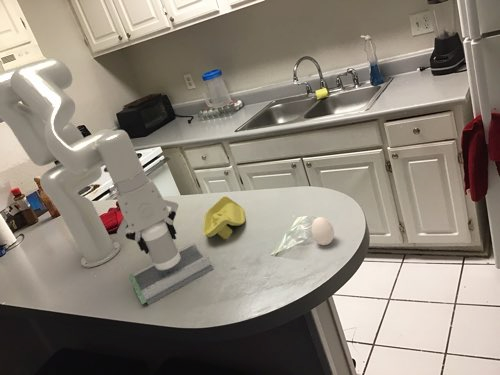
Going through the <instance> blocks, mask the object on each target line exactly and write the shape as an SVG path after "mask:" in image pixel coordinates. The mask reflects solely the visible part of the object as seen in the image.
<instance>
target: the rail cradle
mask: <svg viewBox="0 0 500 375" xmlns="http://www.w3.org/2000/svg"><path fill="white" fill-rule="evenodd" d="M178 251H179V254H180V257H181V259H180V261H179V262H178V263H177V264H176V265H175V266H173V267H171V268H169V269H166V270H158V269H157V268H156V267H155V265H154V263H152V264H150V265H148V266H147V267H144V268H142V269H141V270H139V271H136V272H135V273H131V274H129V275H128V278H129V280H130V282H131V285H132V287H133V289H134V291H135V293H136V294H137V298H138V299H139V301H140V303H141V305H144V304H146V303H147V305H148V306H150V305H152V304H154V303H155V302H157V301H158V300H159V301H160V299H162V298H164V297H166V296H168V295H169V294H171V293H173V292H175V291H177V290H178V289H180V288H181V287H184V286H185V285H187V284H189V283H191V282H192V281H194V280H197V279H199V278H200V277H201V276H203V275H206V274H207V273H210V271H213V270H214V268H213V267H214V266H213V265H212V263H211V261H210V259H209V256H208V255H205V256H203V254H202V253H201V252H200V251H199V248H198V246H197V244H196V243H195V242H192V243H191V244H188V245H187V246H186V245H185V246H184V247H183V248H181V249H178Z"/></svg>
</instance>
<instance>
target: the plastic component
mask: <svg viewBox="0 0 500 375" xmlns="http://www.w3.org/2000/svg"><path fill="white" fill-rule="evenodd" d="M245 221H246V216H245V210H244V208H243V207H242V206H241V205H240V204H239V203H237V202H236V201H234V200H233V199H231V198H230V197H229V196H226V195H225V196H222V197H221V198H220V199H219V200H218V201H217V202H215V204H213V206H212V207H210V209H208V211H207V212H206V213H205V215H204V221H203V226H202V227H203V228H202V235H204V236H206V237H209V238H211V237H213V236H216V235H219V236H220V237H221V238H222V239H223V240H227V239H228V238H229V237H230V236H231V235H232V233H233V230H232V229H231V228H230V227H229V226H228V225H230V226H241V225H243V224H244V223H245Z"/></svg>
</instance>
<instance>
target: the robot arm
mask: <svg viewBox="0 0 500 375" xmlns="http://www.w3.org/2000/svg"><path fill="white" fill-rule="evenodd" d="M72 84H73V75H72V72H71V70H70V69H69V67H68V66H67V65H66V63H65V62H63V61H62V60H61V59H58V58H55V57H48V58H44V59H40V60H36V61H31V62H29V63H26V64H23V65H19V66H16V67H13V68H9V69H7V70H4V71H0V119H1V120H2V121H3V122H4V123H5V124H7V126H8V127H9V129H10V130H11V131H12V133H13V135H14V136H15V138H16V139H17V141H18V142H19V144H20V146H21V147H22V149H23V150H24V152H25V154H26V155H27V156H28V158H29V159H30V160H31V163H33V164H34V165H36V166H38V167H43V166H47V165H50V164H51V163H54V162H56V161H57V162H59V163H58V164H57V165H55V166H53V167H51V168H50V169H48V170H46V171H45V172H44V173H43V174H42V175H41V177H40V182H39V184H40V187H41V189H42V191H43V193H45V195H46V196H47V197H48V198H49V200H50V201H51V202H52V203H53V205H54V207H55V208H56V209H57V212H58V213H59V215H60V216H61V219H62V220H63V222H64V223H65V225H66V227H67V228H68V230H69V233H70V234H71V236H72V238H73V240H74V242H75V243H76V245H77V247H78V248H79V250H80V253H81V255H82V258H81V260H80V264H81V266H82V267H83V268H96V267H99V266H101V265H102V264H104V263H106V262H108V261H110V260H111V259H113V258H114V257H115V256H117V255H118V253H119V252H120V251H121V245H120V243H119V242H118V241H112V238H111V236H110V235H109V232H108V231H107V229H106V227H105V225H104V223H103V220H102V219H101V217H100V215H99V213H98V211H97V209H96V207H95V205H94V204H93V203H94V202H92V200H90V199H89V198H88V197H86V196H83V195H80V194H79V192H80V191H82V190H83V189H85V188H87V187H88V186H91V185H92V184H94V183H95V182H97V181H98V180H99V179H100V178H101V177H102V174H103V173H102V166H103V165H104V166H105V168H106V171H107V172H108V174H109V176H110V178H111V181H112V184H111V185H110V186H108V189H109V192H111V193H113V192H116V194H115V195H116V199H117V200H116V201H117V203H118V206H119V210H120V212H121V214H122V216H123V218H122V221H121V222H120V224H119V227H118V228H117V231H116V233H117V235H118V236H120V237H121V238H122V237H123V238H125V239H127V240H132V241H135V242H136V243H137V245H138V247H139V250H140V251H141V252H143V251H144V253H145V254H146V255H147V254H149V253H148V252H149V251H148V249H147V247H146V245H145V243H144V241H143V239H142V238H141V236H140V232H141V231H142V230H144V229H146V228H148V227H150V226H152V225H154V224H156V223H158V222H160V221H162V220H164V221H165V222H166V224H167V227H168V229H169V231H170V233H171V236H172V238H173V240H177V237H176V234H178V232H177V230H176V228H175V226H174V220H175V218H176V216H177V211H178V208H179V204H178V203H177V202H175V201H171V200H167V199H164V198H163V196H162V194H161V192H160V190H159V189H158V187H157V185H156V184H155V182H154V181H153V179H150V178H148V177H147V174H146V172H145V170H144V168H143V164H142V163H141V161H140V158H139V157H138V156H139V155H138V153H137V151H136V150H135V147H134V144H133V142H132V140H131V138H130V136H129V134H128V132H126V131H125V130H124V129H117V130H111V129H109V128H104V129H103V128H102V129H101V130H98V131H96V132H94V133H92V134H90V135H88V136H87V135H86V136H85V137H84V136H83V134H82V132H81V131H80V129H79V128H78V127H77V126H76V125H75V124H74V123H72V122H71V121H70V120H71V119H72V118H73V116H74V114H75V112H76V103H75V101H74V100H73V98H71V97H70V95H68V94H67V93H66V92H65V91H64V90H66V89H68V88H69V87H71V85H72ZM20 102H24V103H25V104H23V103H20ZM168 207H169V208H170V211H169V208H168ZM127 227H128V229H129V230H130V231H131V232H130V231H126V228H127Z"/></svg>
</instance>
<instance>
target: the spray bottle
mask: <svg viewBox="0 0 500 375" xmlns="http://www.w3.org/2000/svg"><path fill="white" fill-rule="evenodd" d="M140 236H141V238H142V239H143V241H144V243H145V245H146V247H147V249H148V251H149V252H148V254H149V256H150V259H151V261H152V264H154V265H155V267H156V268H157V269H158V270H166V269H169V268H171V267H173V266H175V265H176V264H177V263H178V262H179V261H180V259H181V257H180V254H179V249H178V247H177V245H176V243H175V241H174V239H173V238H172V236H171V233H170V231H169V229H168V227H167V224H166V222H165V221H164V220H162V221H160V222H158V223H156V224H154V225H152V226H150V227H148V228H146V229H144V230H142V231H141V232H140Z"/></svg>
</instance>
